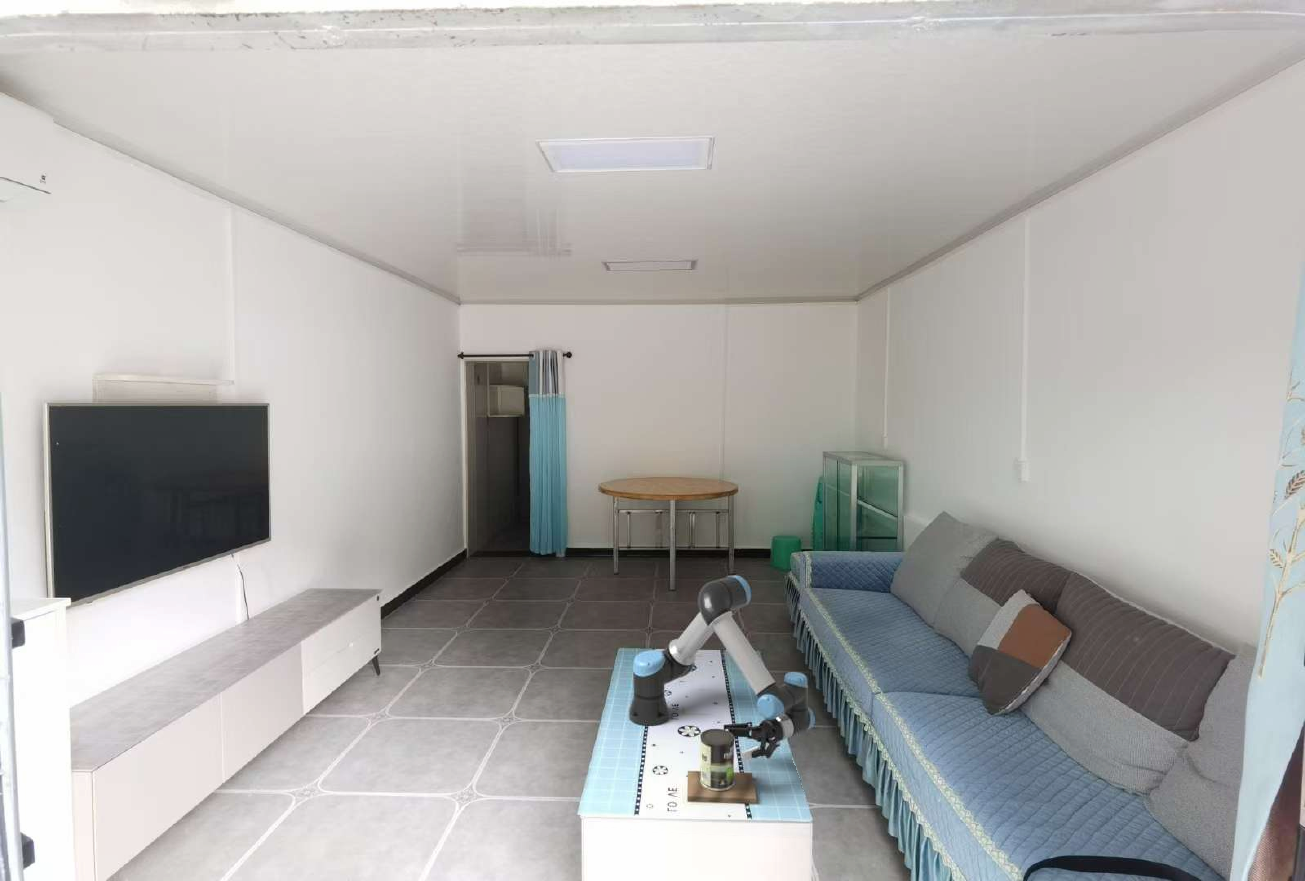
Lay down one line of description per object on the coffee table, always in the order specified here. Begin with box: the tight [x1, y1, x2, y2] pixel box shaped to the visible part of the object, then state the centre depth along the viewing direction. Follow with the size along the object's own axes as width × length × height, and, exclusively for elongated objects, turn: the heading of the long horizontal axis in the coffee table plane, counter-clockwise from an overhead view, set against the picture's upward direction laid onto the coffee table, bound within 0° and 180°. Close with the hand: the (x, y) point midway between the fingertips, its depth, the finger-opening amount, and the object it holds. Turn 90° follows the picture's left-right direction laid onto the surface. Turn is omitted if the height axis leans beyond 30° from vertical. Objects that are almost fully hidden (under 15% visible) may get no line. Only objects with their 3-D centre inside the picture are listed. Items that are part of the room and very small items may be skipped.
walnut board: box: [686, 770, 757, 805], centre depth 196 cm, size 20×14×2 cm
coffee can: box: [699, 728, 735, 791], centre depth 197 cm, size 10×10×14 cm
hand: (727, 748), depth 199 cm, fingers open, 13 cm apart
